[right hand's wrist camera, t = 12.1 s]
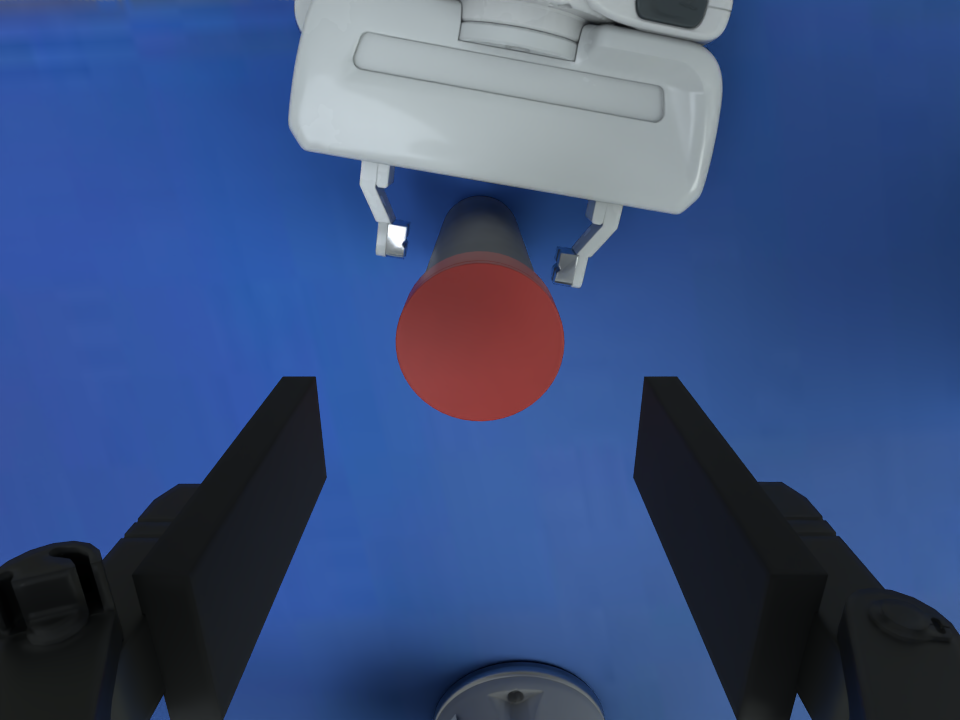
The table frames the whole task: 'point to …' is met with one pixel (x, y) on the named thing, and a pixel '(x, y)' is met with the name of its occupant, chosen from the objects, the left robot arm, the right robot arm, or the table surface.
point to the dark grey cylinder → (479, 231)
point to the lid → (480, 337)
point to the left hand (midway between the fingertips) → (478, 269)
